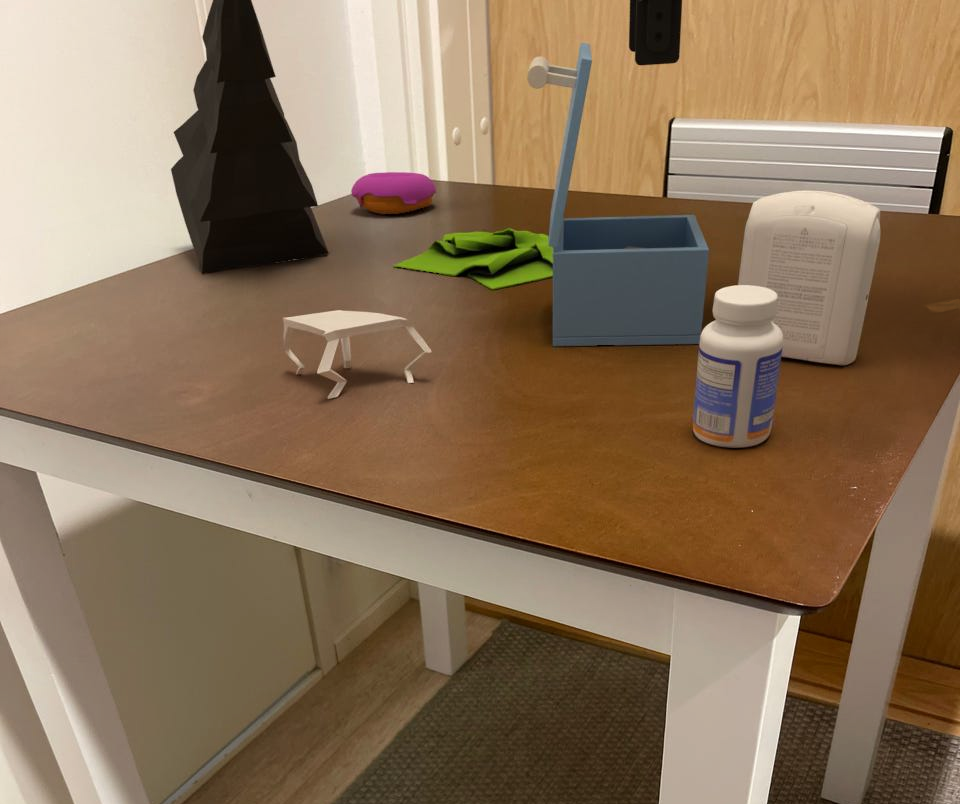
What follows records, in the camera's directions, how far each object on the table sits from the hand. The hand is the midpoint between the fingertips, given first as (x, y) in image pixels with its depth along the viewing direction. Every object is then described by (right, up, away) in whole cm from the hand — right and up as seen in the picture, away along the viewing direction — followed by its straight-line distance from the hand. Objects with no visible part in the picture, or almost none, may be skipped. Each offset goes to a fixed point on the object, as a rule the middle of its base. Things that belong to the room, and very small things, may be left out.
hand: (652, 56), depth 75 cm
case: (0, -17, +13) cm, 21 cm away
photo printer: (+12, -22, +5) cm, 26 cm away
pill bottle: (+4, -31, -7) cm, 32 cm away
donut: (-25, +11, +53) cm, 59 cm away
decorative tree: (-38, -3, +34) cm, 51 cm away
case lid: (-6, -5, +4) cm, 8 cm away
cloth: (-12, -4, +31) cm, 34 cm away
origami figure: (-23, -24, +4) cm, 34 cm away
